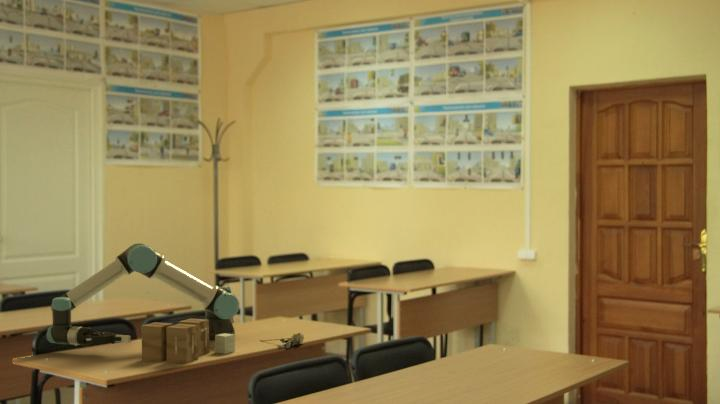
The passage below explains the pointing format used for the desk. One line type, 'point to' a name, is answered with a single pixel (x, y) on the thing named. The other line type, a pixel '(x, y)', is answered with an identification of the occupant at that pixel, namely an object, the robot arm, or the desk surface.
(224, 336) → the product box
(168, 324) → the plain block
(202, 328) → the block seven
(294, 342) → the toy
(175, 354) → the block one
